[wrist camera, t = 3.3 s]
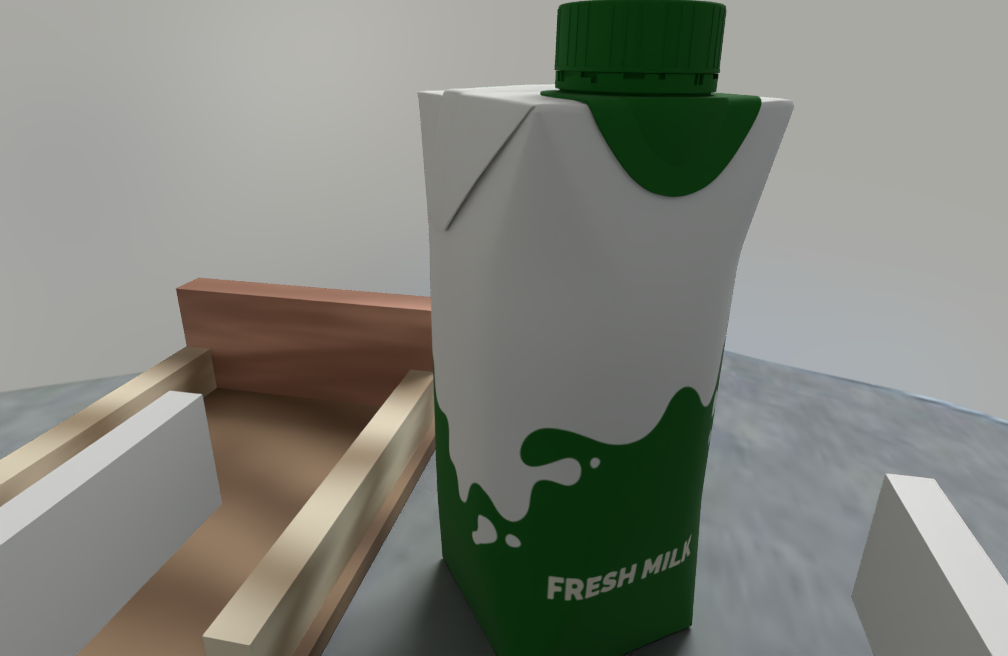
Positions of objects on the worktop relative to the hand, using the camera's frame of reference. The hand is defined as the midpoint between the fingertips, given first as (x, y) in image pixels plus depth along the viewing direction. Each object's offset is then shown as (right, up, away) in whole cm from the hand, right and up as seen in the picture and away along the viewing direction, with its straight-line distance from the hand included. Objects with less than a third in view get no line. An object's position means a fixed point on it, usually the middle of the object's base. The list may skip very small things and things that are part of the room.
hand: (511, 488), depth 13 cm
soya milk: (+2, -7, +12) cm, 14 cm away
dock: (-13, -5, +17) cm, 22 cm away
